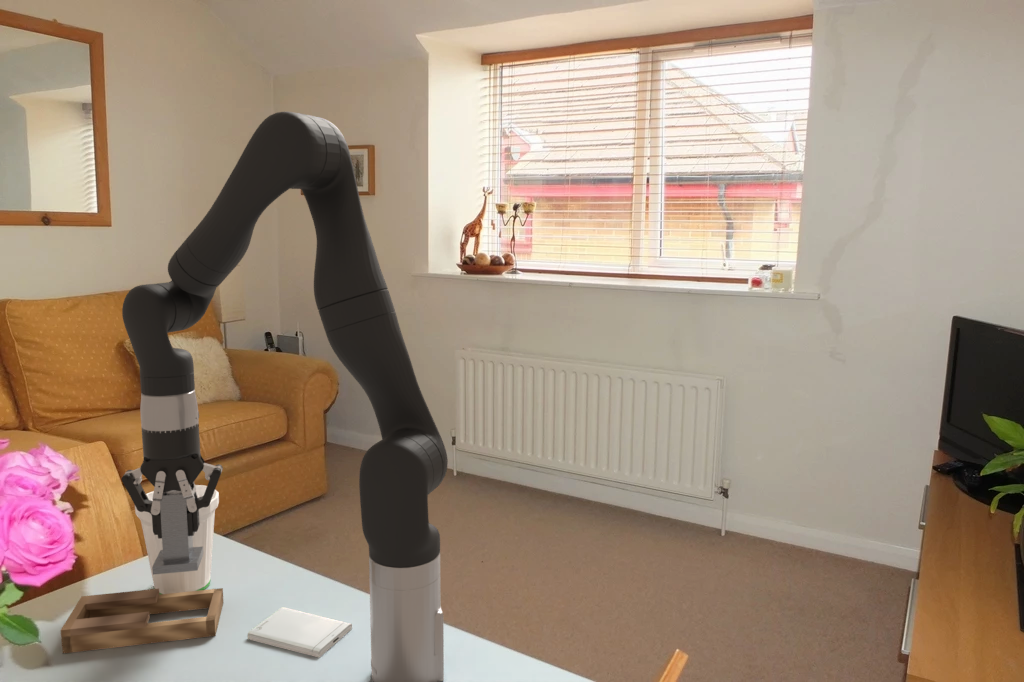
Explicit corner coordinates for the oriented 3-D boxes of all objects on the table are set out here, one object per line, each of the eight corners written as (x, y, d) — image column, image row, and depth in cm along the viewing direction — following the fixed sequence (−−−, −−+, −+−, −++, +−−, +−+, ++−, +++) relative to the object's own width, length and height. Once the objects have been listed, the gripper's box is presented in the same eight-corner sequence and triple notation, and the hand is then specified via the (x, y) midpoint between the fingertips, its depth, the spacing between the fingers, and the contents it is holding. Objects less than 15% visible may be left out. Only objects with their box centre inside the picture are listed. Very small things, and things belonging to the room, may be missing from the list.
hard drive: (246, 632, 110) (319, 650, 105) (283, 605, 117) (352, 621, 113) (247, 642, 110) (319, 661, 105) (283, 615, 117) (352, 631, 113)
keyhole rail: (223, 602, 120) (222, 582, 119) (215, 635, 110) (214, 613, 110) (83, 617, 115) (81, 596, 114) (62, 653, 106) (60, 630, 105)
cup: (127, 588, 124) (120, 499, 122) (199, 562, 134) (195, 479, 131) (163, 613, 116) (157, 519, 114) (238, 584, 126) (233, 496, 123)
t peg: (203, 553, 116) (199, 483, 115) (197, 570, 110) (193, 496, 109) (161, 557, 115) (156, 486, 113) (152, 574, 109) (148, 499, 107)
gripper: (109, 431, 104) (118, 550, 106) (219, 426, 107) (225, 541, 110) (122, 417, 111) (130, 529, 113) (225, 412, 114) (230, 521, 117)
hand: (177, 534), depth 112 cm, fingers closed on t peg, 3 cm apart
